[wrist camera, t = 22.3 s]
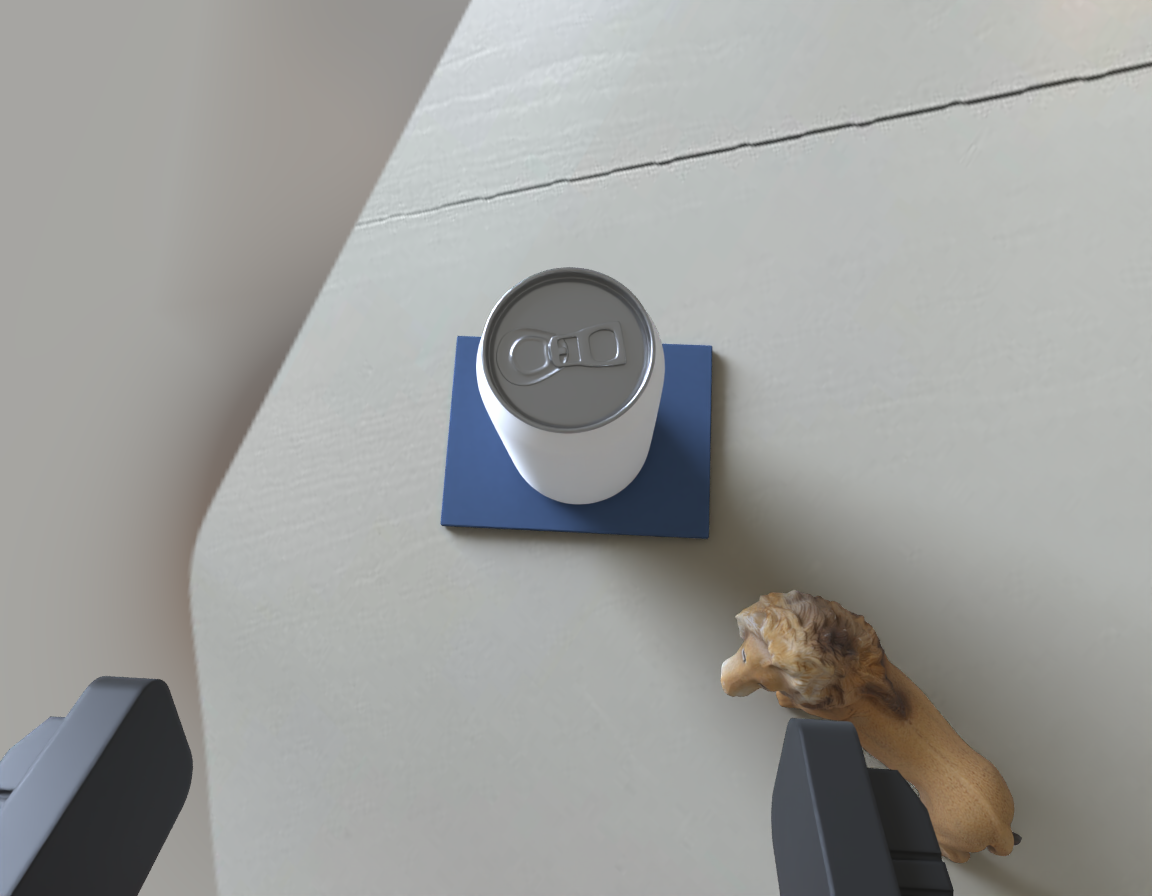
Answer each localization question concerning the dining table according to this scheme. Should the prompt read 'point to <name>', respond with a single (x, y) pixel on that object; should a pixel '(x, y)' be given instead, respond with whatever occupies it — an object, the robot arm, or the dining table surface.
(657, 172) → the dining table surface
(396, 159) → the dining table surface
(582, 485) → the can
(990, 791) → the lion figurine
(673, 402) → the blue mat
